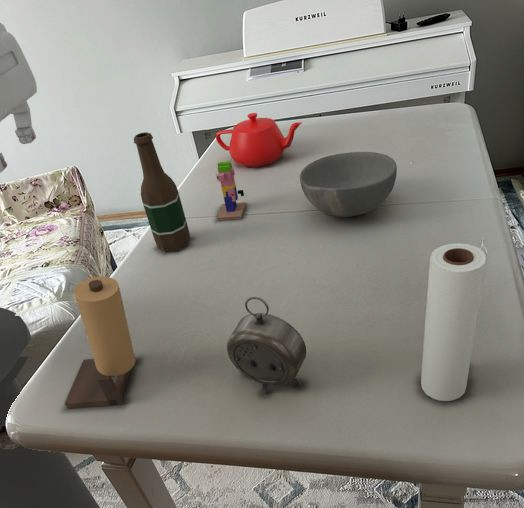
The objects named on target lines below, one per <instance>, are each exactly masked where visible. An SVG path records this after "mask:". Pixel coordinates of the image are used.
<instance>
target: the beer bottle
mask: <svg viewBox="0 0 524 508" xmlns="http://www.w3.org/2000/svg"><path fill="white" fill-rule="evenodd" d="M153 139H154V137H153V135H152V133H150V132H148V131H147V132H140V133H138V134H137V133H136V134H135V136H134V137H133V144H135V145H136V149H137V153H138V157H139V161H140V164H141V169H142V170H141V171H142V182H141V185H140V199H141V201H142V205H143V208H144V211H145V214H146V218H147V221H148V225H149V227H150V230H151V233H152V236H153V239H154V242H155V244H156V247H157V248H158V250H160V251H162V252H164V253H175V252H179V251H181V250H183V249H185V248H186V247H188V246H189V244H190V240H191V234H190V233H191V232H190V230H189V225H188V222H187V218H186V215H185V211H184V208H183V203H182V200H181V196H180V193H179V189H178V187H177V184H176V183H175V182H174V180H173V178H171V176H169V175H168V174H167V173H166V172H165V171H164V168H163V166H162V164H161V161H160V158H159V156H158V152H157V150H156V147H155V144H154V141H153Z"/></svg>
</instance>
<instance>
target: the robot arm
mask: <svg viewBox="0 0 524 508" xmlns="http://www.w3.org/2000/svg"><path fill="white" fill-rule="evenodd" d="M37 92H38V86H37V81H36V78H35V75H34V73H33V71H32V69H31V66H30V64H29V62H28V60H27V58H26V56H25V53H24V52H23V50H22V48H21V46H20V44H19V42H18V41H17V39H16V38H15V36H14V35H13V34H12V33H11V32H10V31H7V28H6V26H5V25H4V24H3V23H1V22H0V123H2V121H3V120H5V119H6V118H8V116H10V115H13V119H14V123H15V127H16V128H15V130H14V133H15V135H16V137H17V138H18V142H19V143H20V144H21V145H27V144H28V145H29V144H32V143H33V142H34V141H35V140H36V139H37V135H36V132H35V130H34V127H33V124H32V123H33V122H32V116H31V108H30V105H29V103H28V100H29V99H31V98H32V97H33V96H35V95H36V94H37ZM7 167H8V163H7V161H6V160H5V157H4V155H3V152H0V174H1V173H2V172H3V171H5V170H6V168H7Z"/></svg>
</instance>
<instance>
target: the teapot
mask: <svg viewBox="0 0 524 508" xmlns="http://www.w3.org/2000/svg"><path fill="white" fill-rule="evenodd" d="M246 116H247V119H245V120H242V121H240V122H238V123H237V124H235V125H234V126H233V128H232V129H222V130H219V131H218V132H216V133H215V140H216V142H217V144H218V145H219V146H220V147H221V148H222V149H223V150H224V151H228V152H229V155H230V157H231V159H232V160H233V161H234V162H235V163H236V164H238V165H240V166H243V167H246V168H261V167H266V166H269V165H271V164H273V163H275V162H276V161H277V160H278V159H279V158H280V157H282V156H283V153H284V151H285V150H286V149H288V148H291V146H292V143H293V141H294V137H295V133H296V132H295V131H296V130H297V129H298V128H299V127H300V125H301V124H303V122H301V121H299V122H298V121H297V122H294V123H292V124H290V127H289V128H288V129H289V130H288V133H287V135H286V137H284V134H283V133H282V131H281V129H280V128H279V125H278V124H277V123H276V121H275V120H274V119H272V118H271V117H258V113H257V112H251V113H248V114H247V115H246ZM226 134H227V135H228V134H231V137H230V141H229V145H227V144H226V143H225V142H224V141H223V139H222V137H221V135H226Z"/></svg>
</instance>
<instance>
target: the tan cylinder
mask: <svg viewBox="0 0 524 508" xmlns="http://www.w3.org/2000/svg"><path fill="white" fill-rule="evenodd" d="M73 294H74V297H75V298H74V299H75V301H76V304H77V307H78V311H79V314H80V318H81V321H82V325H83V327H84V331H85V335H86V338H87V342H88V345H89V348H90V351H91V354H92V357H93V358H92V359H94V362H95V365H96V368H97V370H98V371H99V372H100V373H101V374H103V375H106V376H112V378H113V380H114V382H116V379H117V376H118V375H121V374H124V373H126V372H128V371H129V370H130V369H131V370H132V369H133V368H134V366H135V358H136V354H135V351H134V346H133V341H132V337H131V333H130V329H129V323H128V320H127V315H126V310H125V306H124V301H123V297H122V293H121V288H120V284H119V281H117V280H116V279H115V278H113V277H110V276H105V275H99V276H98V275H97V276H93V277H89V278H85V279H84V280H82V281H81V282H79V283H78V284H77V285H76V286H75V287H74V289H73Z"/></svg>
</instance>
